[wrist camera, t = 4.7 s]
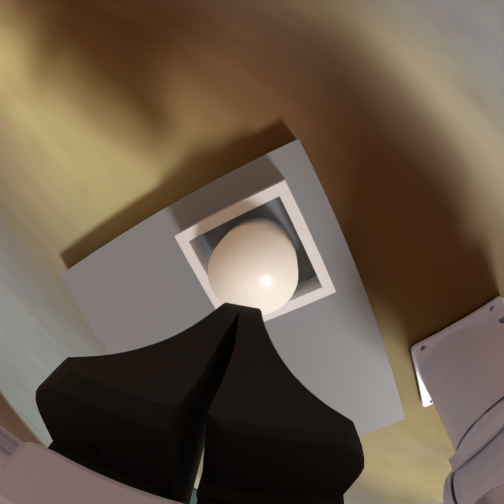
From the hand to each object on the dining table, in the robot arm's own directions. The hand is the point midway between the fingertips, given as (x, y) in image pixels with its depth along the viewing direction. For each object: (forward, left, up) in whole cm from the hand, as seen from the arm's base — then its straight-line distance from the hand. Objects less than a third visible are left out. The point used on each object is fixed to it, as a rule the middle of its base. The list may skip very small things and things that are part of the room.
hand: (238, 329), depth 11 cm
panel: (+5, +7, -9) cm, 12 cm away
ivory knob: (0, 0, -8) cm, 8 cm away
